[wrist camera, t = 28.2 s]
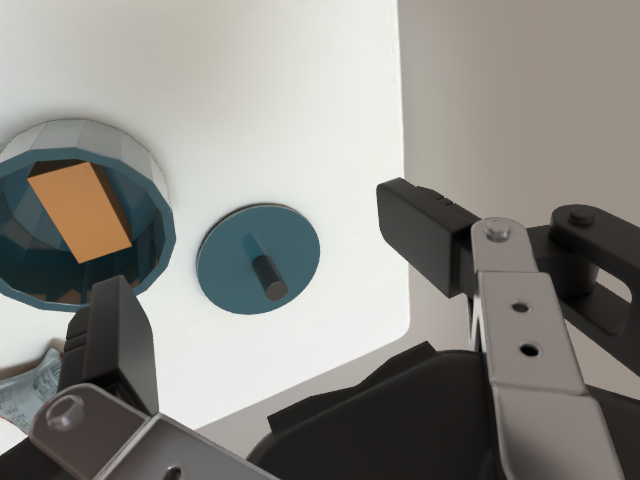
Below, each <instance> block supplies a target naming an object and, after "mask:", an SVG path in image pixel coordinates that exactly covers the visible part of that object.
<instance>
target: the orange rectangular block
mask: <svg viewBox="0 0 640 480" xmlns="http://www.w3.org/2000/svg"><path fill="white" fill-rule="evenodd" d="M27 180H28V182H29V183H30V185H31V186H32V188H33V190H34V191H35V193H36V195H37V196H38V198H39V199H40V201H41V203H42V204H43V206H44V208H45V209H46V211H47V212H48V214H49V216H50V217H51V219H52V221H53V222H54V224H55V225H56V227H57V229H58V230H59V232H60V234H61V235H62V237H63V238H64V240H65V242H66V243H67V245H68V247H69V248H70V250H71V251H72V253H73V255H74V256H75V258H76V260H77V261H78V263H82V262H85V261H88V260H91V259H94V258H97V257H100V256H103V255H107V254H110V253H113V252H116V251H119V250H122V249H125V248H128V247H131V246H132V232H131V224H130V222H129V220H128V218H127V216H126V214H125V212H124V210H123V208H122V206H121V204H120V202H119V200H118V198H117V196H116V194H115V192H114V190H113V188H112V186H111V184H110V182H109V179H108V177H107V175H106V173H105V171H104V169H103V167H102V165H98V164H94V163H91V162H87V161H83V160H79V159H67V160H52V161H37V162H36V163H35V165H34V166H33V168H32V170H31V172H30V173H29V175H28V177H27Z"/></svg>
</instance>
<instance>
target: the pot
mask: <svg viewBox="0 0 640 480" xmlns="http://www.w3.org/2000/svg"><path fill="white" fill-rule="evenodd" d="M67 159H79V160H83V161H87V162H91V163H94V164H98V165H102V167H103V169H104V171H105V173H106V175H107V177H108V179H109V182H110V184H111V186H112V188H113V190H114V192H115V194H116V196H117V198H118V200H119V202H120V204H121V206H122V208H123V210H124V212H125V214H126V216H127V218H128V220H129V222H130V224H131V232H132V246H131V247H128V248H125V249H122V250H119V251H116V252H113V253H110V254H107V255H103V256H100V257H97V258H94V259H91V260H88V261H85V262H82V263H78V261H77V260H76V258H75V256H74V255H73V253H72V251H71V250H70V248H69V247H68V245H67V243H66V242H65V240H64V238H63V237H62V235H61V234H60V232H59V230H58V229H57V227H56V225H55V224H54V222H53V221H52V219H51V217H50V216H49V214H48V212H47V211H46V209H45V208H44V206H43V204H42V203H41V201H40V199H39V198H38V196H37V195H36V193H35V191H34V190H33V188H32V186H31V185H30V183H29V182H28V180H27V177H28V175H29V173H30V172H31V170H32V168H33V166H34V165H35V163H36V162H37V161H52V160H67ZM175 242H176V234H175V227H174V220H173V213H172V208H171V203H170V199H169V195H168V190H167V186H166V182H165V178H164V175H163V173H162V171H161V170H160V168H159V166H158V164H157V163H156V161H155V160H154V158H153V157H152V155H151V154H150V153H149V151H148V150H147V149H145V148H144V147H143V146H142V145H141V144H140V143H139V142H138V141H136V140H135V139H134V138H132V137H131V136H129V135H128V134H126V133H124V132H122V131H121V130H118V129H116V128H114V127H111V126H109V125H106V124H103V123H99V122H95V121H90V120H82V119H63V120H54V121H47V122H45V123H42V124H39V125H37V126H34V127H32V128H30V129H28V130H26V131H24V132H22V133H20V134H18V135H16V136H15V137H14V138H13V139H12V140H11V142H10V143H9V144H8V145H7V146H6V148H5V149H4V150H3V151H2V152H1V154H0V293H2V294H3V295H5V296H7V297H10V298H12V299H15V300H17V301H20V302H22V303H25V304H27V305H30V306H33V307H35V308H38V309H42V310H52V311H63V312H74V313H76V312H77V311H78V309H80V308H82V307H85V306H88V305H90V302H91V294H92V286H93V285H94V284H96V283H99V282H102V281H104V280H107V279H110V278H113V277H116V276H119V275H123V276H124V277H125V278H126V280H127V282H128V283H129V285H130V287H131V289H132V290H133V292H134V294H135V296H137V295H139V294H141V293H143V292H144V291H146V290H147V289H148V288H149V287H150V286H151V285H152V284H153V283H154V281H155V280H156V279H157V278H158V277H159V276H160V275H161V274H162V273H163V272H164V270H165V269H166V268H167V267H168V264H169V261H170V258H171V255H172V252H173V249H174V245H175Z"/></svg>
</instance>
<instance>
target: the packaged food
mask: <svg viewBox="0 0 640 480" xmlns="http://www.w3.org/2000/svg"><path fill="white" fill-rule="evenodd" d="M63 354H64V353H62V352H59V351H57V350H56V349H54V348H52V347H51V348H50V349H49V350H48V351H47V353H46V355H45V357H44V359H43V361H42V362H41V363H40V364H39V365H38V366H36V367H35V368H33V369H31V370H30V371H26V372H24V373H22V374H20V375H17V376H14V377H11V378H7V379H4V380H1V381H0V418H3V419H5V420H7V421H9V422H11V423H12V424H14V425H15V426H17V427H18V428H19V429H20V430H21V431H23V432H24V433H25V434H26V435H28V436H29V434H28V432H29V427H30V424H31V421H32V420H33V418H34V416H35V415H36V413H37V412H38V410H39V409H40V408H41V407H42V406H43V405H44V404H45V403H46V402H47V401H48V400H49V399H51V398H52V397H53V396H54V395H56V392H57V387H58V381H59V375H60V370H61V364H62V358H63Z"/></svg>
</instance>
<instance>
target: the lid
mask: <svg viewBox="0 0 640 480" xmlns="http://www.w3.org/2000/svg"><path fill="white" fill-rule="evenodd" d="M319 257H320V245H319V240H318V237H317V234H316V232H315V230H314V228H313V227H312V225H311V224H310V223H309V222H308V221H307V220H306V219H305V218H304V217H303V216H302V215H301V214H299V213H298V212H296V211H294V210H292V209H289V208H286V207H283V206H278V205H258V206H253V207H249V208H246V209H243V210H240V211H238V212H236V213H234V214H232V215H230V216H229V217H227V218H226V219H224V220H223V221H222V222H220V223H219V224H218V225H217V226H216V227H215V228H214V229H213V230H212V231H211V233H210V234H209V235H208V236H207V238H206V240H205V241H204V243H203V245H202V247H201V250H200V252H199V256H198V261H197V275H198V280H199V283H200V286H201V288H202V290H203V292H204V293H205V295H206V296H207V297H208V299H209V300H210V301H211V302H213V303H214V304H215V305H217V306H218V307H220V308H222V309H224V310H226V311H229V312H232V313H236V314H245V315H252V314H260V313H265V312H269V311H272V310H275V309H277V308H279V307H281V306H283V305H285V304H287V303H288V302H290V301H292V300H293V299H294V298H295V297H297V296H298V295H299V294H300V293H301V292H302V291H303V290H304V289H305V288H306V287H307V285H308V284H309V282H310V281H311V280H312V278H313V276H314V274H315V272H316V269H317V267H318V263H319Z"/></svg>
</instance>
